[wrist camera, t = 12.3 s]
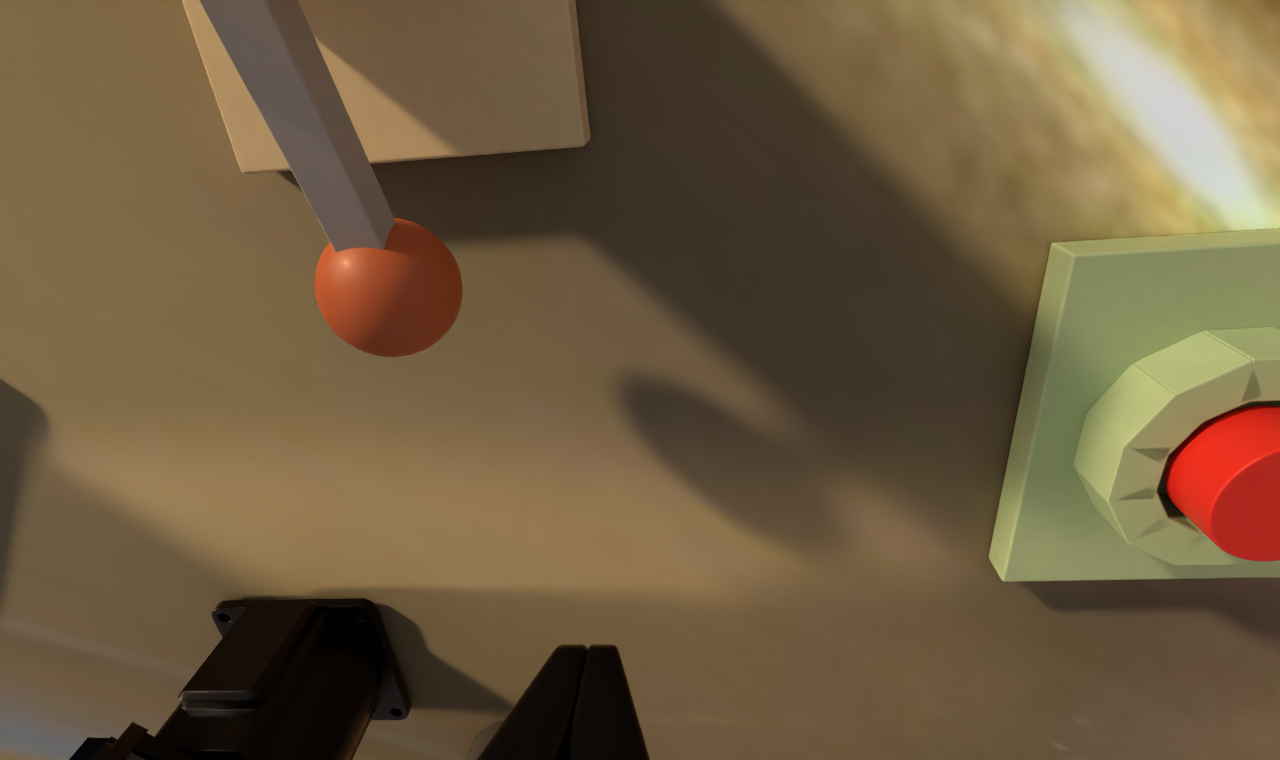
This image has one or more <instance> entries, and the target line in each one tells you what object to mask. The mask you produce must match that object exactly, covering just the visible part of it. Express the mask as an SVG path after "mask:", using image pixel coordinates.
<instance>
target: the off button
mask: <svg viewBox="0 0 1280 760" xmlns="http://www.w3.org/2000/svg"><path fill="white" fill-rule="evenodd" d="M1165 488H1166V491H1167V494H1168V496H1169V498H1170V500H1171V501H1172V502H1173V504H1174V505H1175V506H1176V507H1177V508H1178V509H1179V510H1180V511H1181V512H1182V513H1183V514H1184V515H1185V516H1187V517H1188V518H1189V519H1190V520H1191V521H1192V522H1193V523H1194V524H1195V525H1196V526H1197V527H1198V528H1199V529H1200V530H1201V531H1202V532H1203V533H1204V534H1205V535H1206V536H1207V537H1208V538H1210V539H1211V540H1212V541H1213V542H1214V543H1215V544H1216V545H1217V546H1218V547H1219V548H1220V549H1222V550H1223V551H1225V552H1227V553H1228V554H1230V555H1233V556H1236V557H1238V558H1242V559H1246V560H1251V561H1279V560H1280V406H1275V405H1258V406H1249V407H1244V408H1240V409H1236V410H1233V411H1230V412H1227V413H1225V414H1222V415H1220V416H1218V417H1216V418H1213V419H1211V420H1210V421H1208V422H1206V423H1205V424H1203V425H1201V426H1200V427H1199V428H1197V429H1196V430H1195V431H1194V432H1193V433H1191V434H1190V435H1189V436H1188V437H1187V438H1186V439H1185V440H1184V441H1183V442H1182V443H1181V444H1180V445H1179V446H1178V447H1177V449H1176V450H1175V451H1174V453H1173V455H1172V456H1171V458H1170V460H1169V463H1168V465H1167V468H1166V472H1165Z"/></svg>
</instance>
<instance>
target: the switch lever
mask: <svg viewBox="0 0 1280 760" xmlns="http://www.w3.org/2000/svg"><path fill="white" fill-rule="evenodd" d="M199 1H200V3H201V5H202V7H203V9H204V10H205V12H206V14H207V16H208V18H209V20H210V22H211V23H212V25H213V27H214V29H215V31H216V33H217V34H218V36H219V38H220V40H221V42H222V44H223V46H224V47H225V49H226V51H227V53H228V55H229V57H230V58H231V60H232V62H233V64H234V66H235V68H236V70H237V71H238V73H239V75H240V77H241V79H242V81H243V82H244V84H245V86H246V88H247V90H248V92H249V93H250V95H251V97H252V99H253V101H254V103H255V105H256V106H257V108H258V110H259V112H260V114H261V116H262V117H263V119H264V121H265V123H266V125H267V127H268V129H269V130H270V132H271V134H272V136H273V138H274V140H275V141H276V143H277V145H278V147H279V149H280V151H281V153H282V154H283V156H284V158H285V160H286V162H287V164H288V165H289V167H290V169H291V171H292V173H293V175H294V177H295V178H296V180H297V182H298V184H299V186H300V188H301V189H302V191H303V193H304V195H305V197H306V199H307V201H308V202H309V204H310V206H311V208H312V210H313V212H314V213H315V215H316V217H317V219H318V221H319V223H320V225H321V226H322V228H323V230H324V232H325V234H326V236H327V237H328V239H329V241H330V242H329V244H328V245H327V247H326V248H325V249H324V251H323V253H322V255H321V257H320V259H319V262H318V264H317V269H316V274H315V294H316V299H317V303H318V306H319V309H320V311H321V313H322V315H323V317H324V319H325V321H326V322H327V323H328V325H329V326H330V327H331V329H332V330H333V331H334V332H335V333H336V334H337V335H338V336H339V337H340V338H341V339H343V340H344V341H345V342H347V343H348V344H350V345H351V346H353V347H355V348H357V349H359V350H361V351H364V352H367V353H370V354H373V355H379V356H386V357H399V356H406V355H411V354H414V353H417V352H420V351H422V350H425V349H427V348H429V347H430V346H432V345H433V344H435V343H436V342H437V341H439V340H440V339H441V338H442V337H443V336H444V335H445V334H446V333H447V332H448V330H449V329H450V328H451V326H452V325H453V323H454V322H455V319H456V317H457V315H458V312H459V310H460V305H461V301H462V280H461V274H460V271H459V268H458V265H457V263H456V261H455V259H454V257H453V255H452V253H451V252H450V250H449V249H448V248H447V247H446V245H445V244H444V243H443V242H442V241H441V240H440V239H439V238H438V237H437V236H436V235H434V234H433V233H432V232H430V231H429V230H427V229H426V228H424V227H422V226H420V225H418V224H416V223H413V222H411V221H408V220H404V219H399V218H394V217H393V214H392V212H391V210H390V208H389V205H388V203H387V201H386V199H385V196H384V194H383V192H382V190H381V187H380V185H379V183H378V180H377V178H376V176H375V174H374V171H373V169H372V167H371V165H370V162H369V160H368V158H367V156H366V153H365V151H364V149H363V146H362V144H361V142H360V140H359V137H358V135H357V133H356V131H355V128H354V126H353V124H352V122H351V119H350V117H349V115H348V112H347V110H346V108H345V106H344V103H343V101H342V99H341V97H340V94H339V92H338V90H337V87H336V85H335V83H334V81H333V78H332V76H331V74H330V72H329V69H328V67H327V65H326V63H325V60H324V58H323V56H322V53H321V51H320V49H319V47H318V44H317V42H316V40H315V38H314V35H313V33H312V31H311V29H310V26H309V24H308V22H307V19H306V17H305V15H304V13H303V10H302V8H301V6H300V4H299V1H298V0H199Z"/></svg>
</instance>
